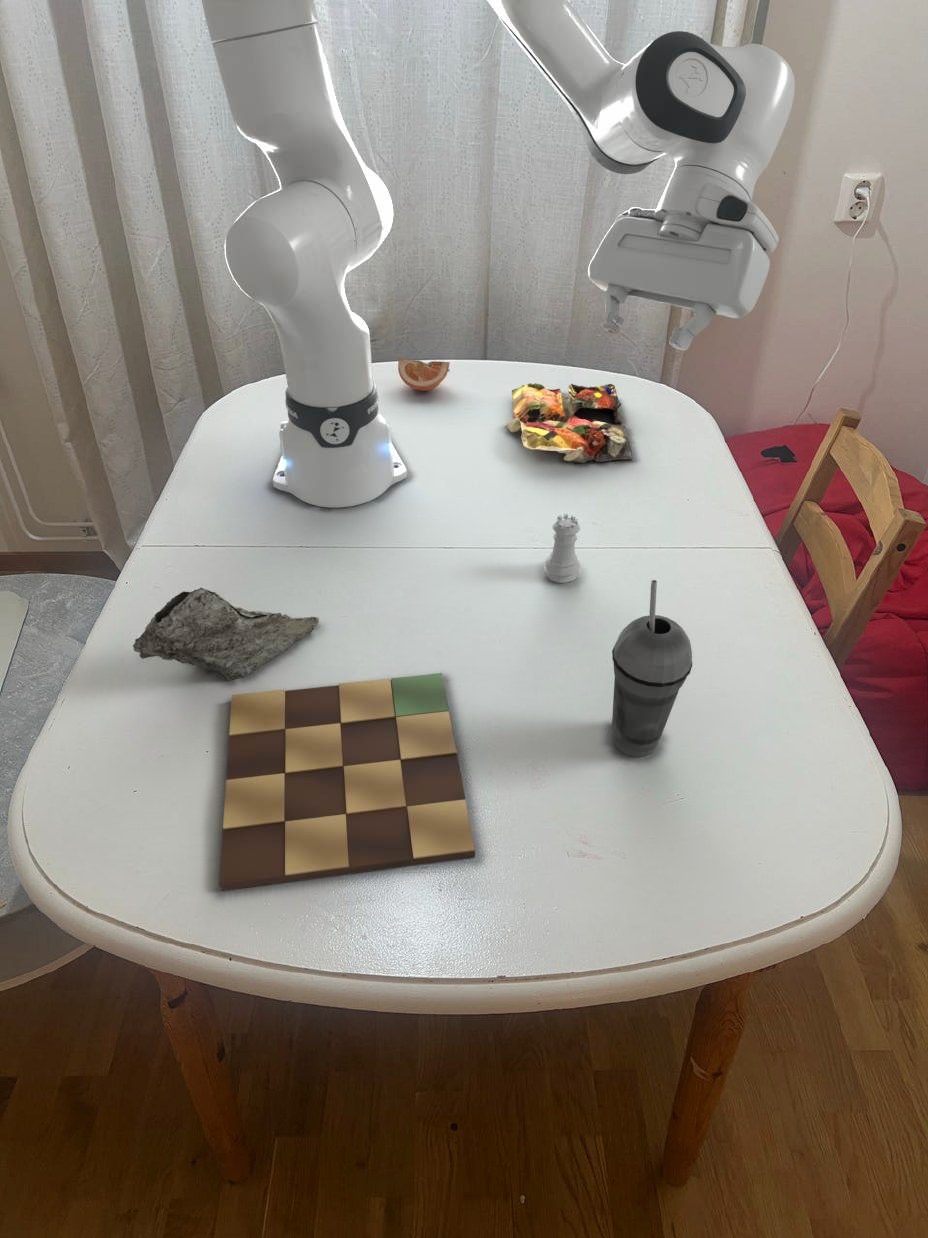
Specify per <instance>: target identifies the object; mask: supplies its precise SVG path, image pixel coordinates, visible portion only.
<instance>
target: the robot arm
mask: <svg viewBox="0 0 928 1238" xmlns="http://www.w3.org/2000/svg"><path fill="white" fill-rule="evenodd" d="M487 2H488V3H489V5H490V7H491V8H492V10H493V11H494V12H495V14H496V15H497V17H498V18H499V20H500V21H501V23H502V24H503V26H504V27H505V29H506V30H507V31H508V33H509V34H510V35H511V36H512V38H513V39H514V41H515V42H516V43H517V45H518V46H519V47H520V49H521V50H522V51H523V52H524V53H525V55H526V56H527V57H528V58H529V59H530V60H531V62H532V63H533V65H534V66H535V67H536V68H537V69H538V70H539V72H540V73H541V74H542V75H543V77H544V78H545V79H546V80H547V82H548V83H549V84H550V86H552V88H553V89H554V91H555V92H556V93H557V94H558V95H559V97H560V98H561V99H562V101H563V102H564V103H565V104H566V106H567V107H568V109H569V110H570V112H571V114H572V115H573V117H574V119H575V122H576V124H577V125H578V128H579V132H580V134H581V136H582V138H583V140H584V143H585V145H586V148H587V149H588V151H589V153H590V155H591V156H592V157H593V158H594V160H595V161H596V162H597V163H598V164H599V165H600V166H601V167H603V168H605V169H606V170H608V171H610V172H612V173H615V174H620V175H633V174H637V173H640V172H642V171H645V170H647V169H648V168H650V166H652V165H653V164H654V163H656V162H657V161H658V160H660V159H661V158H662V157H663V156H664V155H667V156H669V157H670V158H672V159H673V161H674V164H675V166H674V169H673V172H672V173H671V176H670V178H669V180H668V183H667V184H666V186H665V189H664V192H663V194H662V195H661V198H660V200H659V202H658V205H657V207H656V209H653V208H652V209H649V208H648V209H645V208H641V207H637V206H636V207H631V208H629V210H626V211H624V212H623V213H621V214H619V215H617V217H616V218H615V220H614V221H613V224H612V225H611V227H610V228H609V230H608V231H606V234H605V235H604V237H603V239H602V241H601V242H600V244H599V246H598V248H596V249H597V250H596V251H595V253H594V255H593V257H592V259H591V260H590V263H589V265H588V269H587V273H588V279H589V280H590V281H591V282H592V283H593V284H594V285H595V286H597V287H598V288H599V289H600V290H601V291H604V292H605V293H604V302H605V303H604V305H605V313H604V315H603V317H602V320H601V323H600V327H601V329H602V330H603V331H605V332H606V333H607V332H608V333H611V334H619V333H620V330H621V327H622V325H623V323H624V321H625V319H624V318H623V317H621V316H620V304H622V305H624V304H625V302H626V300H627V298H628V296H629V297H632V298H638V299H643V300H647V301H651V302H656V303H661V304H665V305H671V306H676V307H680V308H686V309H690V310H691V313H692V314H693V316H692V317H691V318H690V319H689V320H688V321H687V322H686V323H685V324H684V325H682V327H680V326H679V327H678V326H674V329H673V331H672V335H671V336H670V337H669V340H668V342H669V345H670V346H671V347H672V348H673V349H677V350H680V351H684V352H686V351H688V349H689V348H690V346H691V344H692V341H693V339H694V337H696V336H697V335H699V334H700V333H701V332H702V331H703V330H704V329H707V327H708V326H710V324H711V323H712V321H713V319H714V317H715V316H716V315H718V316H722V317H728V318H733V319H736V320H737V319H738V320H740V319H743V318H744V317H745V316H747V315H748V314H750V313H751V312H752V311H753V309H754V307H755V306H756V303H757V302H758V300H759V297H760V295H761V293H762V291H763V288H764V285H765V283H766V280H767V277H768V274H769V271H770V268H771V267H770V266H771V262H770V258H769V256H768V255H771V254H772V253H774V252H775V250H776V248H777V246H778V244H779V241H780V238H779V236H778V233H777V232H776V229H775V227H774V226H773V225H772V223H771V221H770V219H768V218H767V216H766V215H765V213H764V212H763V211H762V210H761V209H760V208H759V206H757V204H756V203H753V202H752V200H753V197H754V190H755V186H756V183H757V181H758V179H759V177H760V176H761V175H762V174H763V173H764V171H765V170H766V169H767V167H768V166H769V165H770V162H771V160H772V158H773V156H774V154H775V151H776V149H777V146H778V145H779V142H780V140H781V137H782V136H783V133H784V130H785V128H786V125H787V123H788V120H789V118H790V114H791V111H792V107H793V103H794V100H795V99H794V98H795V91H796V90H795V89H796V83H795V82H796V80H795V75H794V73H793V70H792V68H791V66H790V65H789V63H788V62H787V61H786V59H785V58H784V57H783V56H781V54H779V53H778V52H777V51H775V50H774V49H772V48H770V47H768V46H766V45H764V44H759V43H746V44H743V45H739V46H725V45H724V46H723V45H717V44H713V43H710V42H707V41H706V40H705V39H704V38H702V37H700V36H699V35H697V34H695V33H692V32H689V31H682V30H677V31H670V32H667V33H664V34H662V35H660V36H658V37H657V38H655V39H654V40H653V41H651V42H650V43H649V44H648V45H646V46H645V47H644V48H643V49H641V50H640V51H639V52H638V53H637V54H635V55H634V56H632V58H631V59H630V60H629V62H627V63H626V64H625V63H622V62H619V61H617V60H616V59H615V58H613V57H612V56H611V55H610V54H609V52H608V51H607V50H606V49H605V47H604V46H603V44H602V43H601V42H600V40H599V39H598V38H597V37H596V35H595V34H594V32H593V31H592V30H591V28H590V27H589V26H588V25H587V23H586V22H585V20H583V18H582V17H581V15H580V14H579V13H578V11H577V10H576V9H575V7H574V6H573V5H572V3H571V2H570V0H487ZM201 3H202V4H201V5H202V9H203V12H204V16H205V17H204V18H205V21H206V25H207V30H208V34H209V38H210V41H211V45H212V49H213V52H214V56H215V59H216V63H217V67H218V71H219V73H220V77H221V81H222V85H223V88H224V92H225V95H226V99H227V102H228V106H229V110H230V114H231V117H232V120H233V123H234V125H235V127H236V128H237V130H238V131H239V132H240V134H241V135H242V136H243V137H244V138H246V139H248V140H249V141H250V142H252V143H255V144H256V145H257V146H258V147H259V148H260V149H261V150H262V152H263V153H264V155H265V156H266V158H267V159H268V161H269V163H270V165H271V166H272V168H273V171H274V173H275V175H276V177H277V179H278V182H279V189H278V190H275V191H273V192H270V193H269V194H266V195H265V196H263V197H260V198H257V200H255V201H253V202H252V203H251V204H250V205H249V206H248V207H247V208H246V209H245V210H244V211H243V212H242V213H241V214H240V215H239V216H238V217H237V219H236V220H235V221H234V222H233V223H232V224H231V225H230V227H229V229H228V230H227V232H226V235H225V238H224V256H225V261H226V264H227V267H228V270H229V272H230V274H231V277H232V279H233V280H234V282H235V283H236V285H237V286H238V288H239V289H240V290H241V291H242V292H243V293H244V294H245V295H246V296H247V297H249V298H250V299H252V300H253V301H254V302H256V303H258V304H260V305H262V307H264V308H265V310H266V311H267V313H268V314H269V315H268V316H269V317H270V318H271V321H272V323H273V325H274V327H275V330H276V332H277V333H276V334H277V336H278V338H279V343H280V348H281V354H282V360H283V366H284V372H285V379H286V385H287V386H286V388H285V392H284V395H285V400H284V401H285V407H286V411H287V417H288V420H287V421H284V420H283V421H281V422H280V429H279V435H278V436H279V440H280V441H279V442H280V448H281V456H280V459H279V461H278V464H277V465H276V468H275V471H274V474H273V477H272V486H273V488H274V489H276V490H280V491H283V492H286V493H290V494H291V495H293V496H294V497H296V498H297V499H299V500H300V501H302V502H304V503H307V504H308V505H312V506H316V507H322V508H330V509H331V508H332V509H333V508H338V509H339V508H348V507H355V506H359V505H363V504H366V503H368V502H371V501H374V500H375V499H377V498H378V497H379V496H381V495H383V494H384V493H385V492H386V491H387V490H389V488H390V487H391V486H392V485H394V484H397V483H398V482H401V481H403V480H405V479H406V478H407V477H408V470H407V467H406V465H405V464H404V462H403V460H402V459H401V457H400V456H399V454H398V452H397V450H396V448H395V447H394V445H393V442H392V432H391V426H390V424H388V423H387V420H386V419H385V418H384V417H383V416H382V415H381V413H380V412H379V393H378V389H377V384H376V383H375V381H374V379H373V377H374V376H373V368H372V367H373V362H372V350H371V348H372V347H371V335H370V330H369V327H368V325H367V324H366V322H365V320H363V318H361V316H359V315H357V314H356V313H355V312H352V311H351V309H350V306H349V303H348V299H347V296H346V292H345V278H346V275H347V273H348V272H350V271H351V270H353V269H354V268H357V266H359V265H360V264H362V263H364V262H365V261H366V260H368V259H369V258H370V257H372V256H373V255H374V254H375V252H376V251H377V250H378V248H379V247H380V246H381V245H382V243H383V242H384V240H385V238H387V236H388V234H389V233H390V231H391V228H392V225H393V221H394V208H393V207H394V206H393V202H392V198H391V195H390V193H389V190H388V188H387V186H386V185H385V183H384V182H383V181H382V179H381V178H380V177H379V176H378V175H377V174H376V173H375V172H374V171H372V170H371V169H370V168H369V167H368V166H367V165H366V164H365V162H364V161H363V160H362V158H361V155H360V154H359V153H358V150H357V148H356V147H355V144H354V142H353V140H352V138H351V136H350V134H349V131H348V130H347V129H348V128H347V127H346V125H345V122H344V120H343V117H342V113H341V111H340V108H339V106H338V101H337V99H336V94H335V89H334V86H333V83H332V82H333V81H332V77H331V71H330V68H329V63H328V59H327V55H326V50H325V46H324V41H323V36H322V32H321V27H320V23H319V17H318V13H317V9H316V3H315V0H201Z"/></svg>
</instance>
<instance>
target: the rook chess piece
mask: <svg viewBox="0 0 928 1238" xmlns="http://www.w3.org/2000/svg"><path fill="white" fill-rule="evenodd" d="M556 517H557V518H556V519H555V521H554V522H553V523H552V530H553V531H554V532H555V533H554V534H553V535H552V538H553V540H554V543H553V546H552V551H551V552H550V553H549V554H548V556H547V557H546V559H545V561H544V567H543V574H544V575H545V576H546V577H547V578H548V579H549V580H550V581H551V582H554V583H557V584H568V583H572V582H573V581H575V580H576V579H577V578H579V576H580V573H581V571H580V568H581V566H580V560H579V559H578V556H577V554H576V550H575V548H576V545H575V543H576V541H577V540H578V536H577V534H579V531H580V530H581V525H580V524H579V523H578V522H579V521H578V518H576V516H575V515H571V516H570V517H569V514H568V513H564V514H563V516H562V515H557V516H556Z"/></svg>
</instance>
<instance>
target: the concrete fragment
mask: <svg viewBox="0 0 928 1238" xmlns="http://www.w3.org/2000/svg"><path fill="white" fill-rule="evenodd" d="M153 615H154V616H153V617H152V618H150V621H149V623H148V624H147V625H146V627H145V629H144V631H143V633H142V634H141V635H140V636H139V637H138V638H135V640H134V643H133V644H132V647H133V651H134V652H135V653H138V656H139V658H141V659H142V660H143V659H148V658H154V657H158V658H161V659H162V660H164V661H173V660H174V661H177V662H179V663H181V664H186V665H191V666H196V667H199V668H202V669H205V670H209V671H216V672H217V673H219V674H221V675H222V676H224V678H225V679H226V680H227V681H233V680H236V679H239V678H244V677H248V676H250V675H251V674H252V673H253V672H254V671H257V670H259V668H261V667H262V666H263V665H264V664H266V663H267V662H269V661H271V660H272V659H273V658H275V657H278V656H279V655H281V654H282V653H284V652H287V650H288V649H289V648H291V647H292V645H293V644H294V643H295V642H297V641H299V640H301V639H302V638H305V637H307V636H308V635H309V634H310V633H311V632H313V630H314V628H316V626H317V625H318V623H319V622H320V619H319V617H318V616H308V617H307V616H305V617H293V618H292V617H290V616H289V615H287V614H286V613H285V614H282V613H281V612H270V611H261V610H252V611H251V610H250V611H249V610H246V609H243V608H242V607H238V606H237V607H235V606H234V605H233V604H231V603H230V602H229V601H227V600H226V599H225V598H224V597H222V596H221V595H220V594H219V593H216V592H215V591H211V590H208V589H206V588H203V587H200V588H197V589H194V590H192V591H182V592H180V593H178V594H177V595H174V597H172V598H171V599H170V600H169V601H167V602H166V604H165V605H164V606H162V608H161V609H160V610H159V611H156V613H155V614H153Z"/></svg>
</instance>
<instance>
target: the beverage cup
mask: <svg viewBox="0 0 928 1238" xmlns="http://www.w3.org/2000/svg"><path fill="white" fill-rule="evenodd" d="M657 589H658V581H657V580H656V579H651V581H650V594H649V595H650V597H649V600H650V601H649V614H648V615H643V616H641V617H639V618H636V619H634V620H632V621H631V622H630V623H628V624H627V625H626V626H625V627H624V628H623V629H622V630H621V631H620V633H619V635H618V637H617V639H616V641H615V643H614V645H613V648H612V651H611V655H612V656H611V659H612V662H613V663H612V664H613V674H614V683H613V700H612V715H611V716H612V717H611V721H612V722H611V731H612V734H611V740H612V743H613V745H614V747H615V748H616V749H617V750H618V751H619V752H620V753H622V754H624V755H627V756H629V757H632V758H642V757H643V758H644V757H647V756H649V755H651V754H652V753H653V752H655V750H656V749H657V746H658V744H659V741H660V740H661V738H662V735H663V732H664V730H665V728H666V725H667V722H668V719H669V718H670V714H671V712H672V709H673V707H674V705H675V702H676V699H677V696H678V694H679V691H680V689H681V688H682V687H683V685H684V683H685V681H686V680H687V677H688V676H689V675H690V674H691V671H692V668H693V651H692V645H691V640H690V638H689V636H688V634H687V633H686V631H685V629H684V628H683V627H682V626H680V625H679V624H678V623H677V622H676V621H675V620H673V619H671V618H668V617H667V616H662V615H659V614H658V615H657V614H656V605H657Z"/></svg>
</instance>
